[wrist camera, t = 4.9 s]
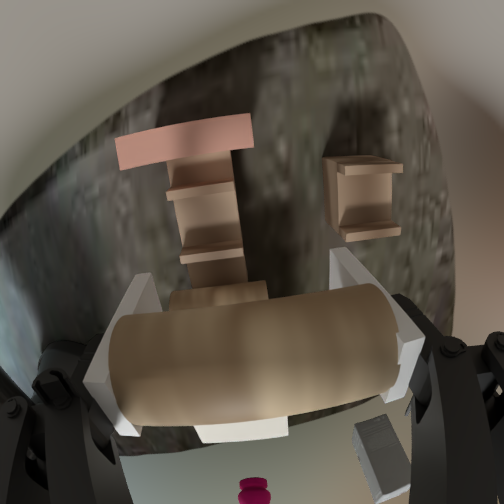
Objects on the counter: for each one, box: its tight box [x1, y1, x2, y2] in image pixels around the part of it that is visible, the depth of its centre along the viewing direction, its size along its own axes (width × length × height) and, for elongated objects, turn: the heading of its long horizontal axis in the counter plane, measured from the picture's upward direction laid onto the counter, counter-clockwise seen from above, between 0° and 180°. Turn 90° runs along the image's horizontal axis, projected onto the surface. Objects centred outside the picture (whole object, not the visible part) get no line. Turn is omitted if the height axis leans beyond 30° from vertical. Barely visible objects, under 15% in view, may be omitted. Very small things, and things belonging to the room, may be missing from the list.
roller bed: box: [166, 150, 269, 311], centre depth 27 cm, size 8×30×7 cm, turn 7°
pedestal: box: [322, 155, 403, 242], centre depth 23 cm, size 5×6×6 cm
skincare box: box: [352, 414, 411, 504], centre depth 37 cm, size 8×7×16 cm
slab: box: [194, 416, 288, 443], centre depth 24 cm, size 9×13×3 cm
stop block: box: [115, 113, 254, 170], centre depth 19 cm, size 8×2×9 cm, turn 97°
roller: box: [108, 283, 401, 426], centre depth 9 cm, size 8×4×4 cm, turn 96°
